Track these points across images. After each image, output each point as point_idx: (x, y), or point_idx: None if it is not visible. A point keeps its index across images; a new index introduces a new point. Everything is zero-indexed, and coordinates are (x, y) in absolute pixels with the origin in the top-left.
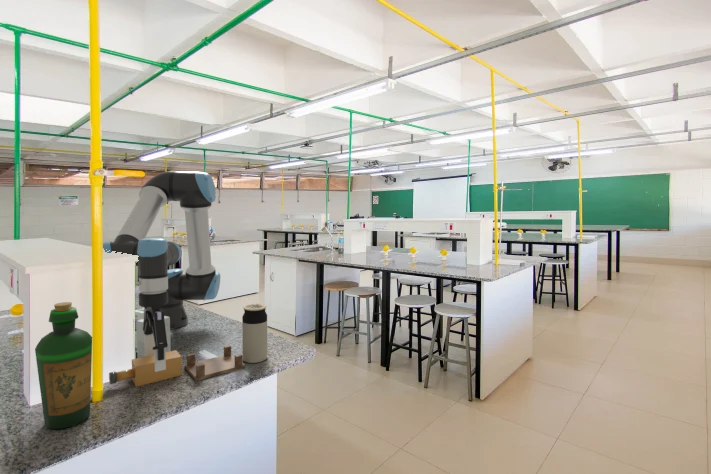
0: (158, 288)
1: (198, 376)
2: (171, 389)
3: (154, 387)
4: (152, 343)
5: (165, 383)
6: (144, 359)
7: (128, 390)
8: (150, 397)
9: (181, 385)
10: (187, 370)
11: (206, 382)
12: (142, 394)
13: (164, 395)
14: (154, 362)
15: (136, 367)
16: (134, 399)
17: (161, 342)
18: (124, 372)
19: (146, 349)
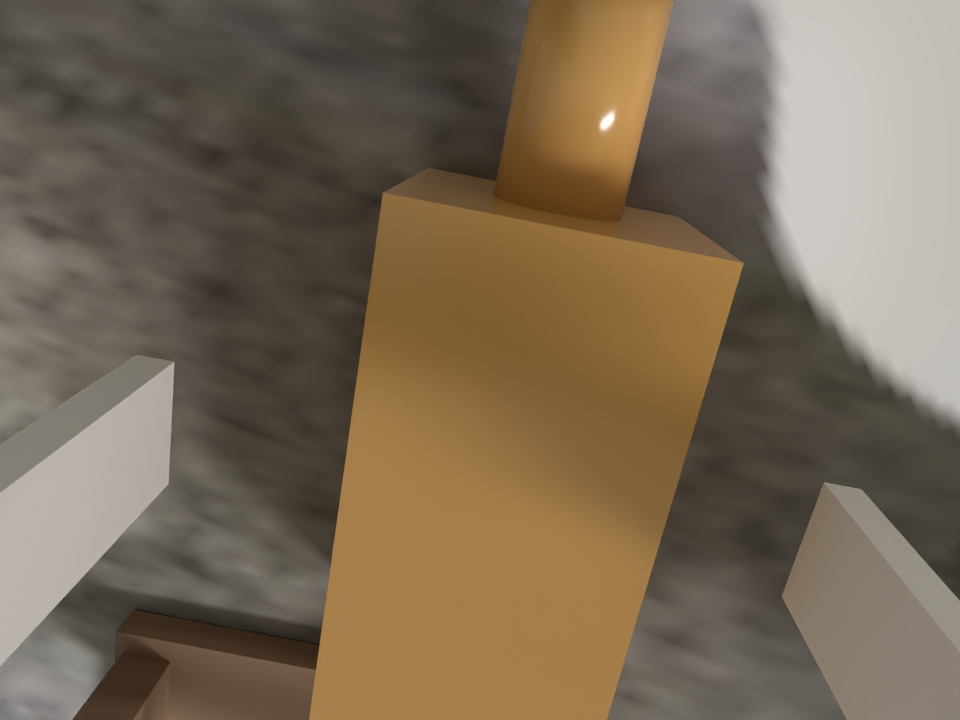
0: None
1: (121, 660)
2: None
3: (264, 299)
4: (870, 707)
5: (281, 411)
6: (574, 401)
7: (389, 69)
8: (57, 179)
9: None
10: None
11: (46, 653)
12: (181, 146)
13: (15, 294)
14: (107, 410)
15: (385, 207)
16: (115, 37)
17: None
18: (547, 72)
19: (868, 563)
